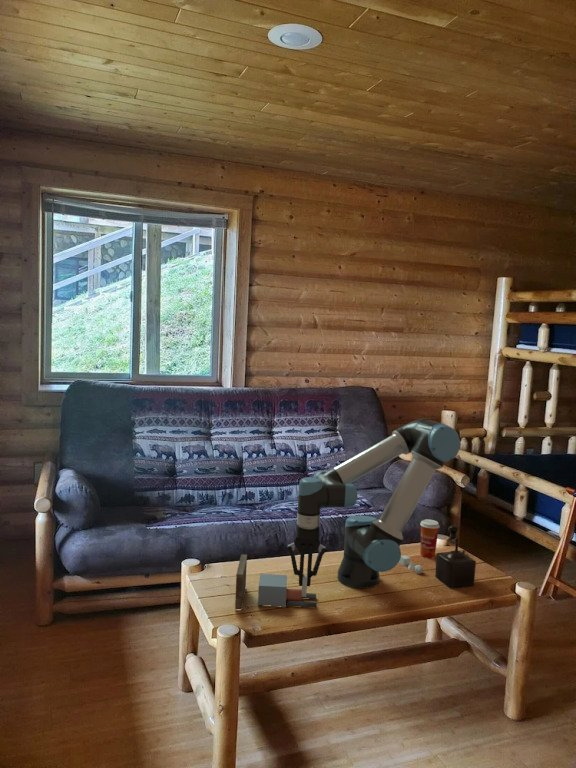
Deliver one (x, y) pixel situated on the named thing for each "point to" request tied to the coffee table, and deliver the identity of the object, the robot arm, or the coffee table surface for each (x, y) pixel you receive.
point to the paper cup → (429, 537)
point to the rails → (304, 603)
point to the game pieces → (410, 564)
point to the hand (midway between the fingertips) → (303, 594)
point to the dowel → (294, 594)
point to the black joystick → (455, 565)
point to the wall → (240, 581)
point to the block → (272, 590)
